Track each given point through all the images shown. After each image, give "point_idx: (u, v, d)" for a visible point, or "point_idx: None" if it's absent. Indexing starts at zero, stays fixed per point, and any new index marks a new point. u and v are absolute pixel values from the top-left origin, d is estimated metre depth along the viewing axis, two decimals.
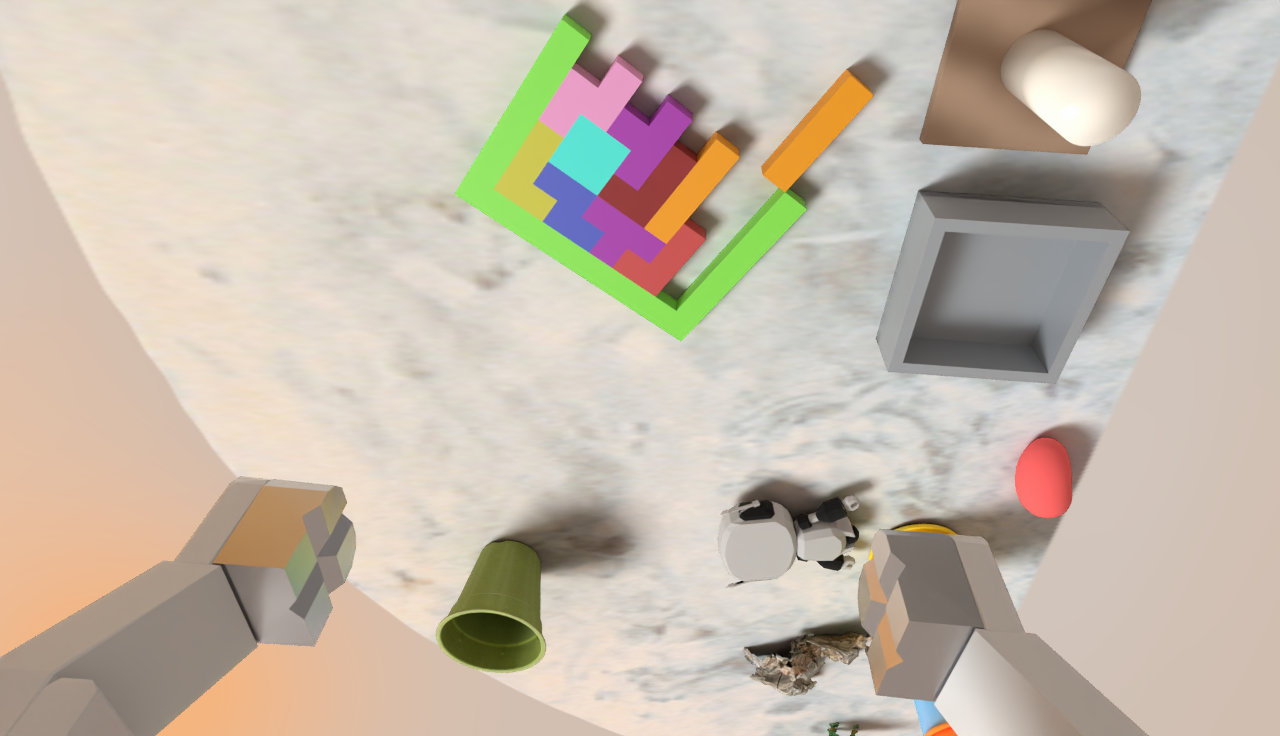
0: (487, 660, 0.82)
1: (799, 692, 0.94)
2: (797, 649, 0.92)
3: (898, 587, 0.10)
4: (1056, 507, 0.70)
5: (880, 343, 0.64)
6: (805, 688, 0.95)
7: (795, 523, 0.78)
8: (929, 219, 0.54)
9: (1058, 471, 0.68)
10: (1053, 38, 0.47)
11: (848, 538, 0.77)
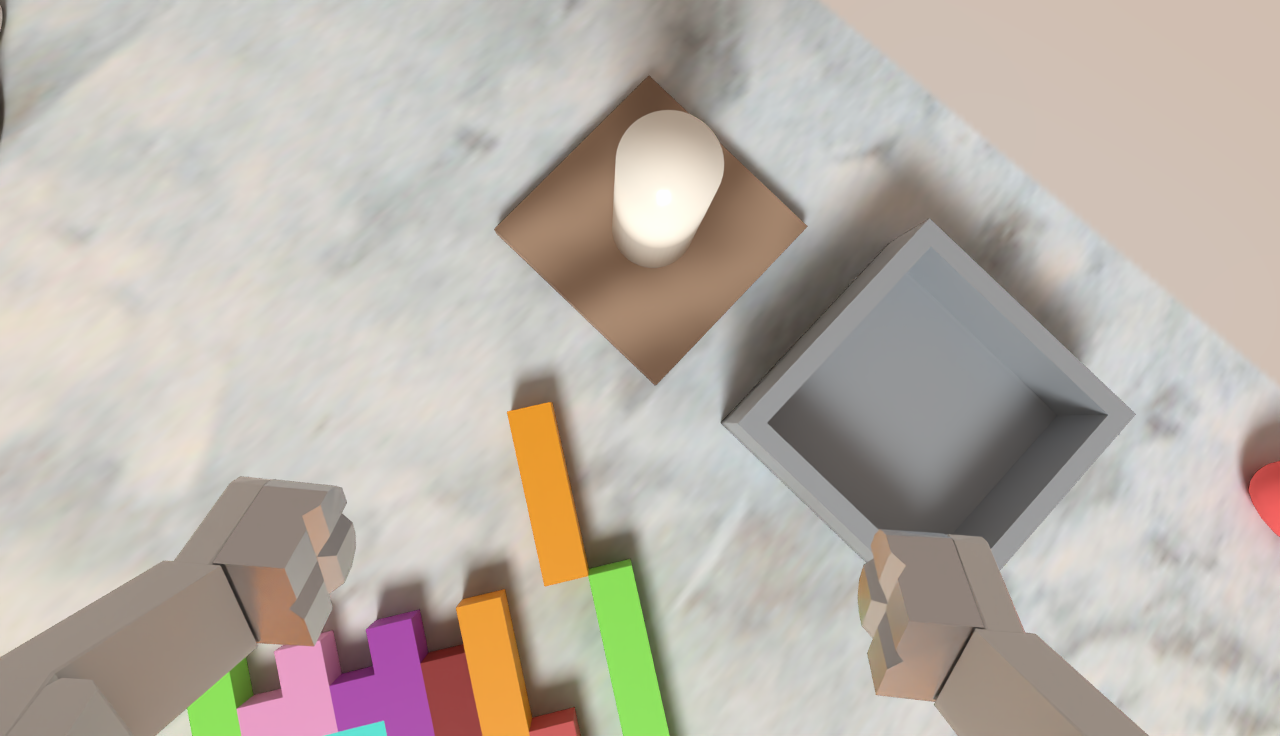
0: None
1: None
2: None
3: (898, 587, 0.10)
4: None
5: None
6: None
7: None
8: (742, 431, 0.36)
9: None
10: None
11: None
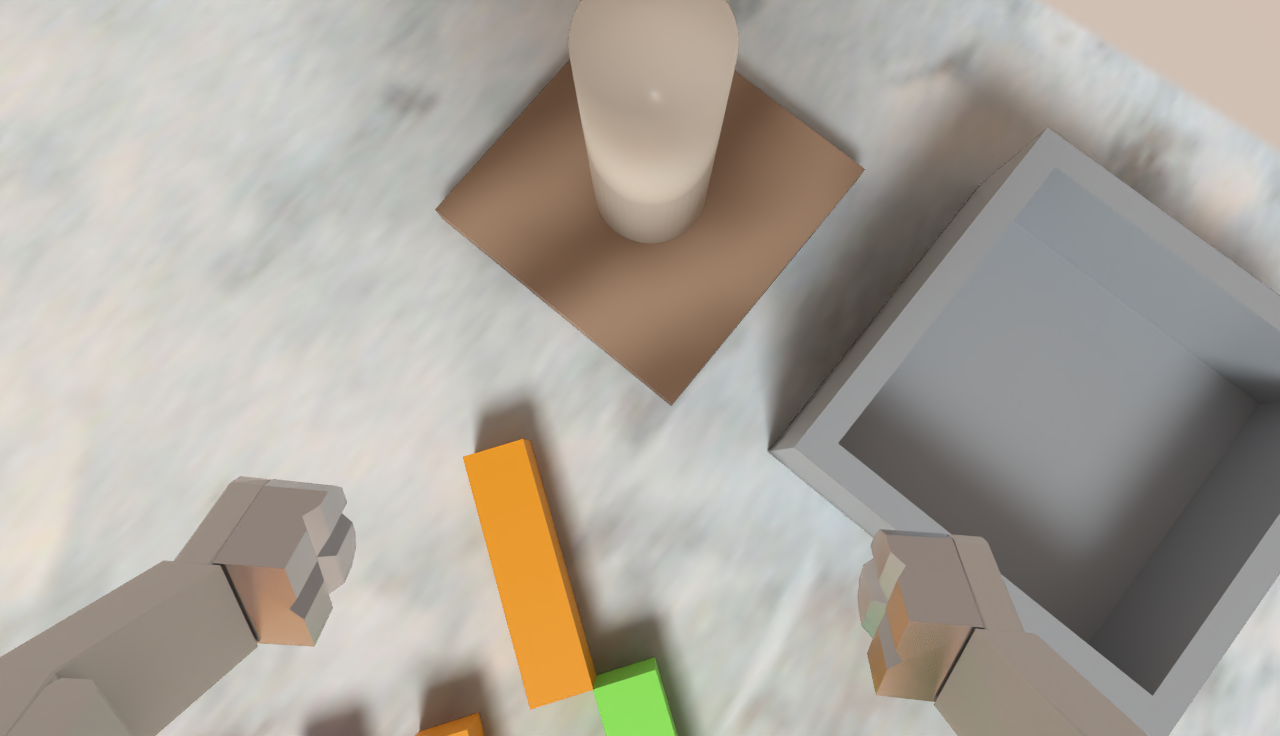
0: None
1: None
2: None
3: (898, 587, 0.10)
4: None
5: None
6: None
7: None
8: (801, 459, 0.24)
9: None
10: None
11: None
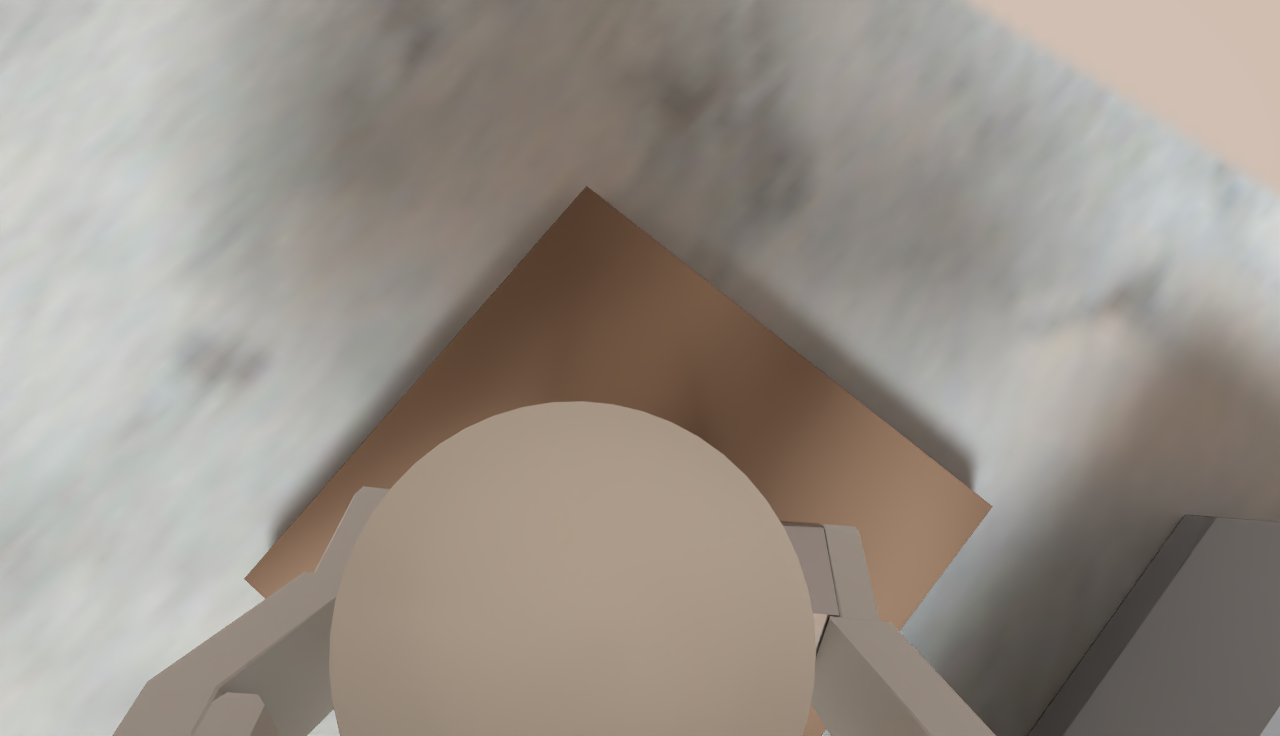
0: None
1: None
2: None
3: None
4: None
5: None
6: None
7: None
8: None
9: None
10: None
11: None
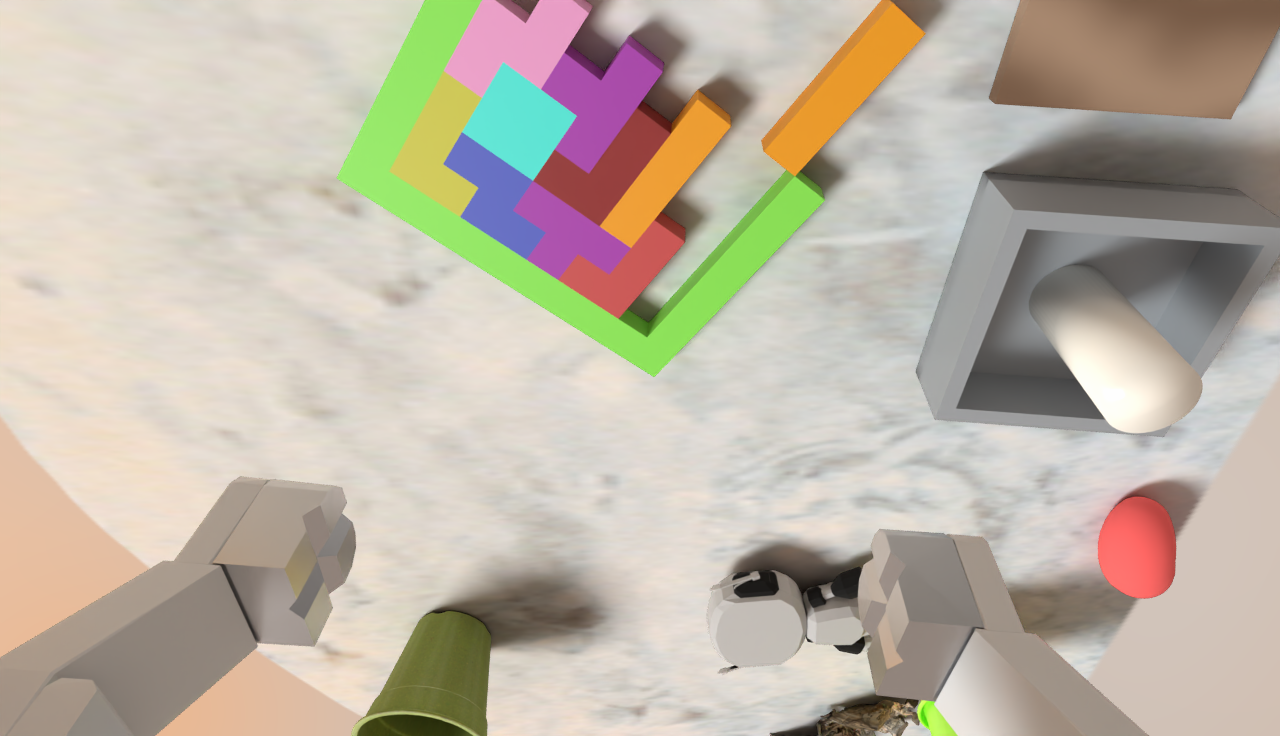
0: None
1: None
2: (826, 731, 0.74)
3: (898, 587, 0.10)
4: (1156, 587, 0.54)
5: (923, 379, 0.48)
6: None
7: (804, 597, 0.62)
8: (1003, 212, 0.38)
9: (1160, 543, 0.52)
10: (1093, 285, 0.41)
11: None
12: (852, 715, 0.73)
